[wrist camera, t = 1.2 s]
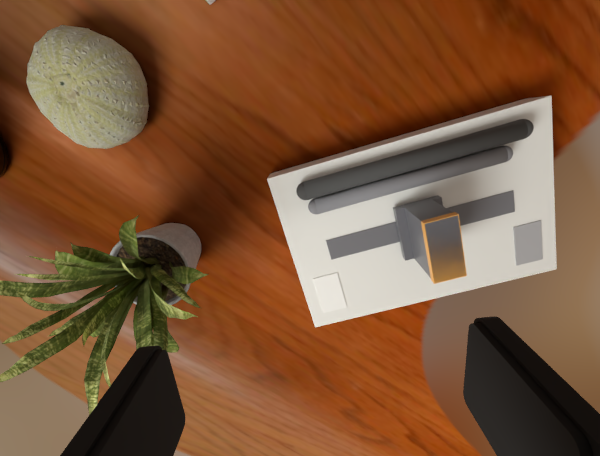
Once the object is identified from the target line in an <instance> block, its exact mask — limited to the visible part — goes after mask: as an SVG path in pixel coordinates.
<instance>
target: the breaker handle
mask: <svg viewBox="0 0 600 456" xmlns="http://www.w3.org/2000/svg"><path fill="white" fill-rule="evenodd" d="M393 211H394V216H395V221H396V226H397V231H398V236H399V241H400V246H401V251H402V256H403V258H404V259H405V261H406V260H410V259H415V260H416V261H417V262H418V264H419V265H420V266H421V267H422V268H423V270H424V271H425V272H426V273H427V275H428V276H429V277H430V278H431V281H432V282H433V283H434V284H436V283H440V282H444V281H448V280H452V279H456V278H460V277H464V276H467V273H466V266H465V258H464V251H463V243H462V236H461V228H460V220H459V214H457V213H456V212H452V211H450V210H449V209H447V208H445V207H444V206H443V202H442V197H440V196H438V195H437V196H433V197H430V198H426V199H422V200H419V201H415V202H411V203H408V204H404V205H400V206H397V207H393Z"/></svg>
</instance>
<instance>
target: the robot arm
mask: <svg viewBox="0 0 600 456" xmlns="http://www.w3.org/2000/svg"><path fill="white" fill-rule="evenodd" d="M463 393H464V399H465V402H466V404H467V406H468V408H469V410H470V411H471V413H472V415H473V416H474V418H475V420H476V421H477V423H478V425H479V426H480V428H481V429H482V431H483V433H484V435H485V436H486V438H487V440H488V441H489V443H490V445H491V446H492V448H493V449H494V451H495V453H496V455H497V456H600V414H599V413H598V412H597V411H596V410H595V409H594V408H593V407H592V406H591V405H590V404H589V403H588V402H587V401H585V400H584V399H583V398H582V397H581V396H580V395H579V394H578V393H577V392H576V391H575V390H574V389H573V388H572V387H571V386H570V385H569V384H568V383H567V382H566V381H565V380H564V379H562V378H561V377H560V376H559V375H558V374H557V373H556V372H555V371H554V370H553V369H552V368H551V367H550V366H549V365H548V364H547V363H546V362H545V361H544V360H543V359H542V358H540V356H538V355H537V354H536V353H535V352H534V351H533V350H532V349H531V348H530V347H529V346H528V345H527V344H526V343H525V342H524V341H523V340H522V339H521V338H520V337H519V336H518V335H516V334H515V332H513V331H512V330H511V329H510V328H509V327H508V326H507V325H506V324H505V323H504V322H503V321H502V320H501V319H500V318H498V317H484V318H477V319H475V321H474V323H473V324H470V325H469V332H468V345H467V356H466V369H465V379H464V391H463ZM184 425H185V413H184V409H183V406H182V402H181V399H180V395H179V392H178V388H177V385H176V381H175V377H174V374H173V370H172V367H171V363H170V360H169V356H168V353H167V351H166V350H162V348H161V347H160V346H158V345H157V346H146V347H140V348H138V349H137V350H136V352H135V353H134V354H133V356H132V357H131V358H130V360H129V361H128V363H127V364H126V365H125V367H124V368H123V370H122V371H121V372H120V374H119V375H118V376H117V378H116V379H115V381H114V382H113V383H112V385H111V386H110V388H109V389H108V390H107V392H106V393H105V394H104V396H103V397H102V399H101V400H100V401H99V403H98V404H97V406H96V407H95V408H94V410H93V411H92V412H91V414H90V415H89V417H88V418H87V419H86V421H85V422H84V424H83V425H82V426H81V428H80V429H79V431H78V432H77V433H76V435H75V436H74V437H73V439H72V440H71V442H70V443H69V444H68V446H67V447H66V448H65V450H64V451H63V453H62V454H61V455H60V456H173V455H174V452H175V450H176V447H177V444H178V442H179V439H180V437H181V434H182V431H183V429H184Z"/></svg>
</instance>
